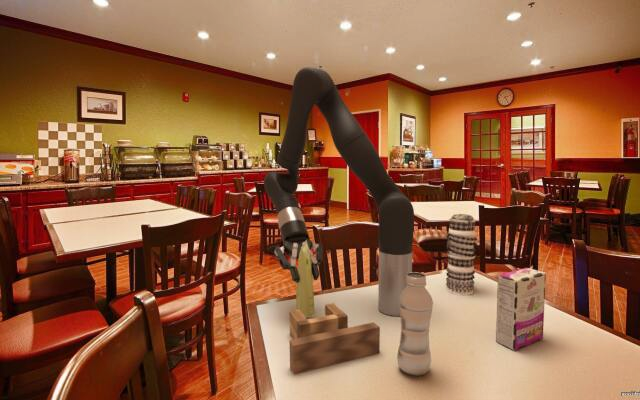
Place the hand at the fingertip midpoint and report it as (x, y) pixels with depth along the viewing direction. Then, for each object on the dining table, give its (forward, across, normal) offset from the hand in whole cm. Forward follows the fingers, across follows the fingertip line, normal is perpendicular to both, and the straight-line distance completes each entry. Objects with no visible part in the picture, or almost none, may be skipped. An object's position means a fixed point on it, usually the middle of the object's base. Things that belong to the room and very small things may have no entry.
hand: (307, 279), depth 89 cm
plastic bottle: (+28, +13, -11) cm, 33 cm away
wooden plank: (+21, 0, -4) cm, 22 cm away
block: (+14, 0, +3) cm, 14 cm away
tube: (+6, 0, +9) cm, 11 cm away
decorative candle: (+7, +54, +10) cm, 55 cm away
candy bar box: (+28, +43, -11) cm, 52 cm away
